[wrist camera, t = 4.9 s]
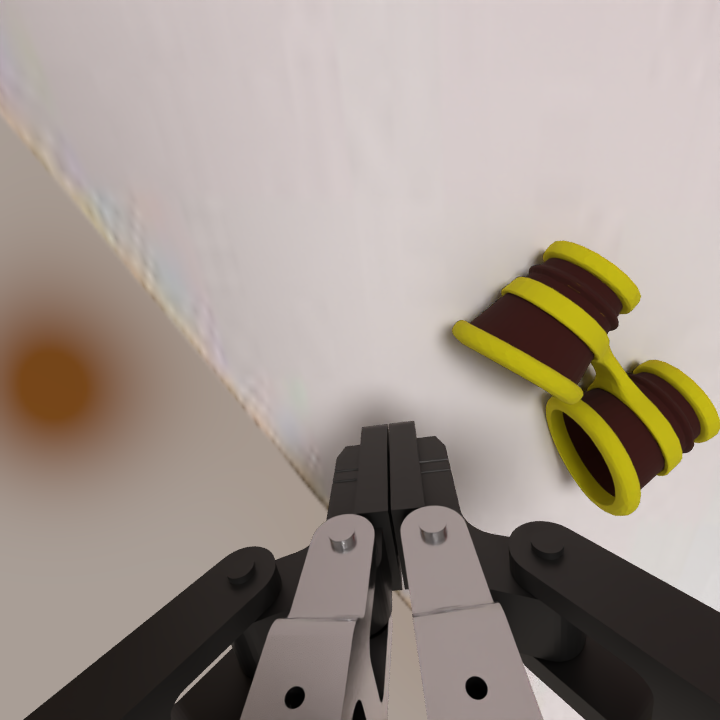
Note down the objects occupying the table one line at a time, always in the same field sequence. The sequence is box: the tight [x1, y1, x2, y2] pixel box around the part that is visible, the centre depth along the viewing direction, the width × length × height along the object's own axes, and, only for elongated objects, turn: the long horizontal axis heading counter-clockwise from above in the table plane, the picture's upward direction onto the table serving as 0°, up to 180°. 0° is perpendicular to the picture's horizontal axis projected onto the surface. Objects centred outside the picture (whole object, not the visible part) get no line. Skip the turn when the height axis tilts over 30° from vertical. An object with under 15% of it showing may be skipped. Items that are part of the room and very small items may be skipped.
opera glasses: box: [452, 241, 720, 516], centre depth 16 cm, size 10×5×5 cm, turn 41°
